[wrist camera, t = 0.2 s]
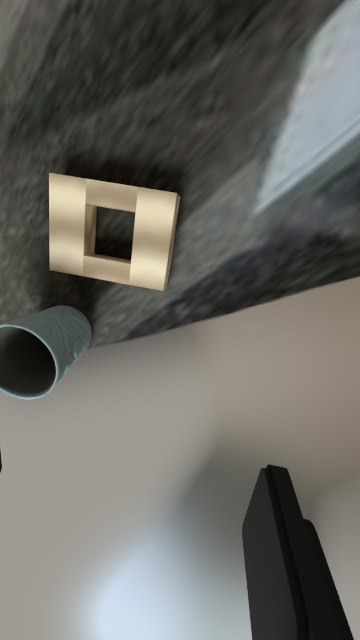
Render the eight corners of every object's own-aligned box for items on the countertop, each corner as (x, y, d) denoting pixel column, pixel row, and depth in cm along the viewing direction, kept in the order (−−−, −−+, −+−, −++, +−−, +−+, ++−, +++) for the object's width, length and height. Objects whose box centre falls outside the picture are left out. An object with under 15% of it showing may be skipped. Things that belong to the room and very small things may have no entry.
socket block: (64, 178, 36) (49, 172, 32) (180, 196, 35) (176, 193, 31) (63, 266, 40) (49, 270, 36) (167, 285, 39) (163, 290, 35)
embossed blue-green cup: (26, 323, 43) (-39, 355, 32) (66, 286, 41) (10, 306, 29) (69, 368, 45) (21, 413, 34) (111, 335, 42) (73, 373, 31)
